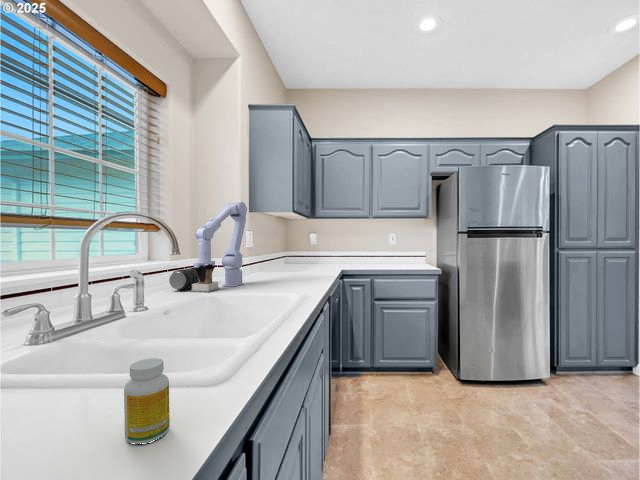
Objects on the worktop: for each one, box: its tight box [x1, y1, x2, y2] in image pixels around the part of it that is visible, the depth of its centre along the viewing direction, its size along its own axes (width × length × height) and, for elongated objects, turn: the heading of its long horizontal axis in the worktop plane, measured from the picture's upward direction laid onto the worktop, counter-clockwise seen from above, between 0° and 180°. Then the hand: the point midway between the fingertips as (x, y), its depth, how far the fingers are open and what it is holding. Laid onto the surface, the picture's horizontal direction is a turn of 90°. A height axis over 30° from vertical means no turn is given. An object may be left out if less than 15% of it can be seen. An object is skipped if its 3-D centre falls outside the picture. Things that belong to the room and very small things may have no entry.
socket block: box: [189, 281, 221, 293], centre depth 163 cm, size 10×10×4 cm
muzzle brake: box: [168, 266, 199, 291], centre depth 174 cm, size 10×28×10 cm, turn 174°
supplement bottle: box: [123, 357, 171, 444], centre depth 45 cm, size 5×5×10 cm
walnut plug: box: [199, 269, 213, 284], centre depth 163 cm, size 4×4×9 cm
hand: (205, 281), depth 163 cm, fingers closed on walnut plug, 4 cm apart
